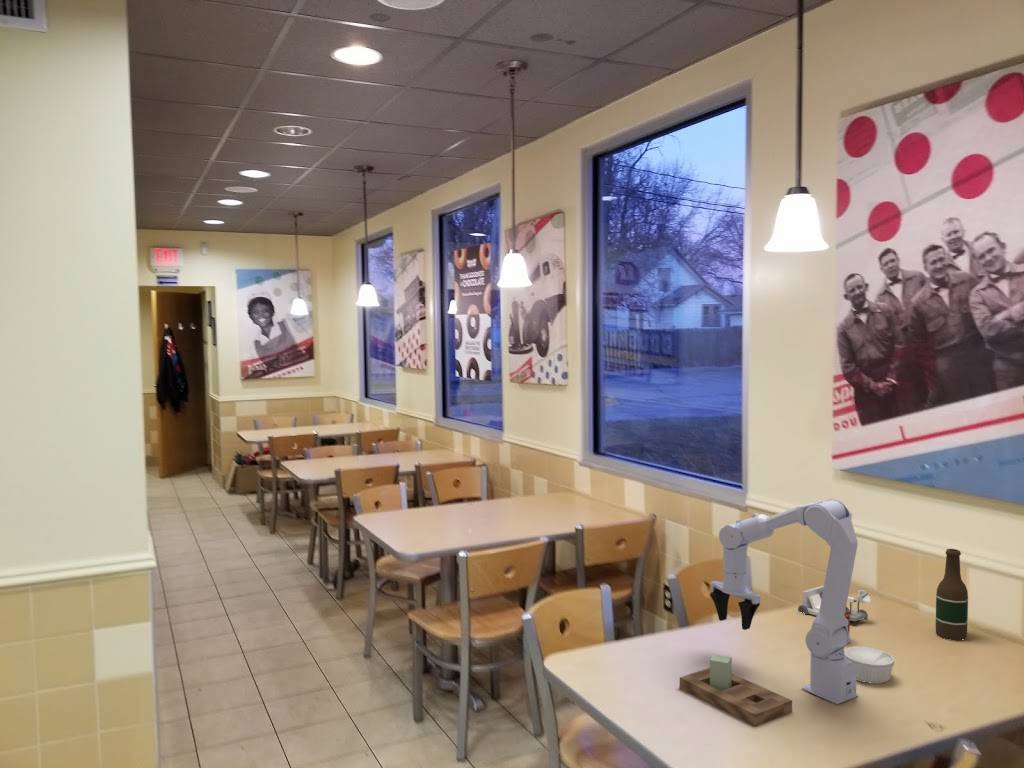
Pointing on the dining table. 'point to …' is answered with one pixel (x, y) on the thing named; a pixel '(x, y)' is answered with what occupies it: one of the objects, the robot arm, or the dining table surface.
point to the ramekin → (870, 663)
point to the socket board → (738, 697)
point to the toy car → (813, 602)
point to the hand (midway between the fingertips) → (734, 624)
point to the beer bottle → (952, 600)
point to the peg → (721, 672)
